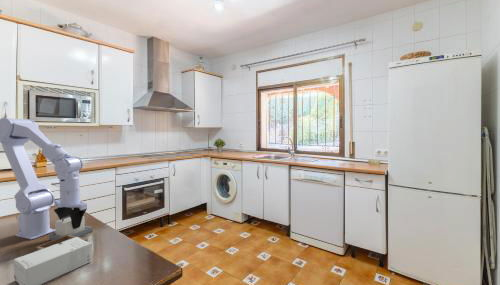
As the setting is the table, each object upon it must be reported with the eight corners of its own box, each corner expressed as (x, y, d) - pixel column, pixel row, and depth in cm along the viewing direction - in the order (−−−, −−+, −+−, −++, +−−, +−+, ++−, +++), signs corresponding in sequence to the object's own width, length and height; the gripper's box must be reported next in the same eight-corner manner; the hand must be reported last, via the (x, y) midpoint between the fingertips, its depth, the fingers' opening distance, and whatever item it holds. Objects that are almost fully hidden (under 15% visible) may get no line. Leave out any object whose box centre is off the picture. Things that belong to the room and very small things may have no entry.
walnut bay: (35, 256, 72) (34, 247, 72) (67, 243, 81) (66, 234, 81) (57, 262, 69) (56, 252, 69) (87, 247, 78) (87, 238, 78)
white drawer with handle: (55, 238, 84) (54, 217, 84) (75, 230, 90) (75, 211, 90) (65, 240, 82) (64, 219, 82) (85, 232, 89) (84, 213, 89)
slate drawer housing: (48, 240, 83) (48, 234, 83) (77, 229, 93) (77, 224, 93) (64, 243, 81) (64, 238, 80) (92, 232, 90) (92, 226, 90)
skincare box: (92, 242, 69) (26, 268, 56) (92, 262, 69) (26, 292, 56) (76, 235, 73) (11, 258, 60) (76, 254, 73) (11, 281, 60)
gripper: (44, 191, 84) (45, 228, 85) (72, 194, 80) (73, 234, 80) (65, 187, 91) (66, 221, 92) (92, 189, 86) (93, 226, 87)
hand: (71, 226), depth 86 cm, fingers closed on white drawer with handle, 5 cm apart
